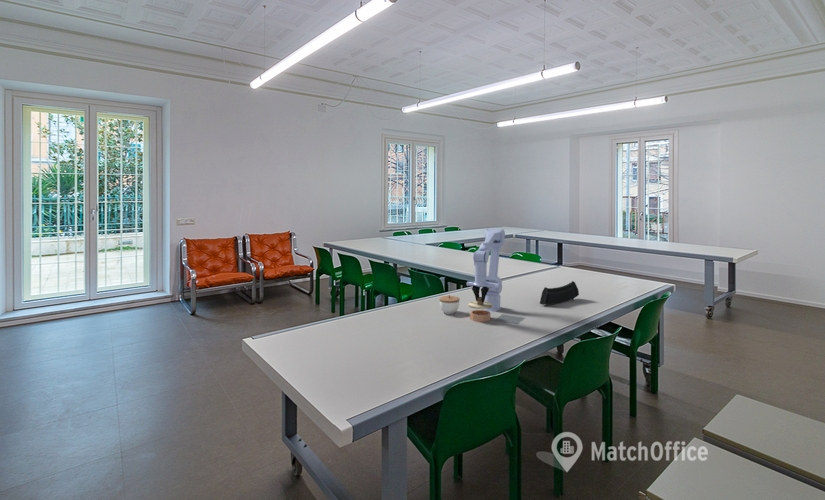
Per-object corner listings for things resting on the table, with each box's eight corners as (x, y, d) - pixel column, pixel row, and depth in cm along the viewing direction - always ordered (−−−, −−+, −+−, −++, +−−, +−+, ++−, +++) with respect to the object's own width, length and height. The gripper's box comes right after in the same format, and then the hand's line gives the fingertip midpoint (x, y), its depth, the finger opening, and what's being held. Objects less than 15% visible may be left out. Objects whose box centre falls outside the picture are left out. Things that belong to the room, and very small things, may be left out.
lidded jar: (463, 313, 228) (463, 295, 226) (447, 316, 222) (447, 298, 220) (450, 308, 236) (450, 292, 235) (435, 311, 230) (435, 294, 229)
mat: (502, 315, 223) (502, 314, 223) (525, 318, 217) (525, 317, 217) (493, 320, 213) (493, 320, 213) (517, 324, 207) (517, 324, 207)
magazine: (541, 291, 236) (575, 270, 250) (536, 290, 239) (571, 270, 253) (546, 319, 241) (579, 297, 255) (542, 317, 244) (575, 296, 258)
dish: (475, 315, 223) (475, 308, 223) (493, 318, 218) (493, 311, 217) (466, 320, 215) (466, 313, 214) (485, 323, 209) (485, 316, 209)
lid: (474, 301, 224) (474, 293, 223) (496, 304, 217) (496, 296, 217) (464, 306, 214) (464, 298, 213) (486, 310, 207) (487, 301, 207)
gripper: (464, 274, 214) (463, 301, 216) (491, 277, 206) (490, 304, 208) (470, 272, 220) (469, 298, 221) (496, 275, 212) (496, 301, 214)
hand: (480, 301), depth 215 cm, fingers closed on lid, 2 cm apart
